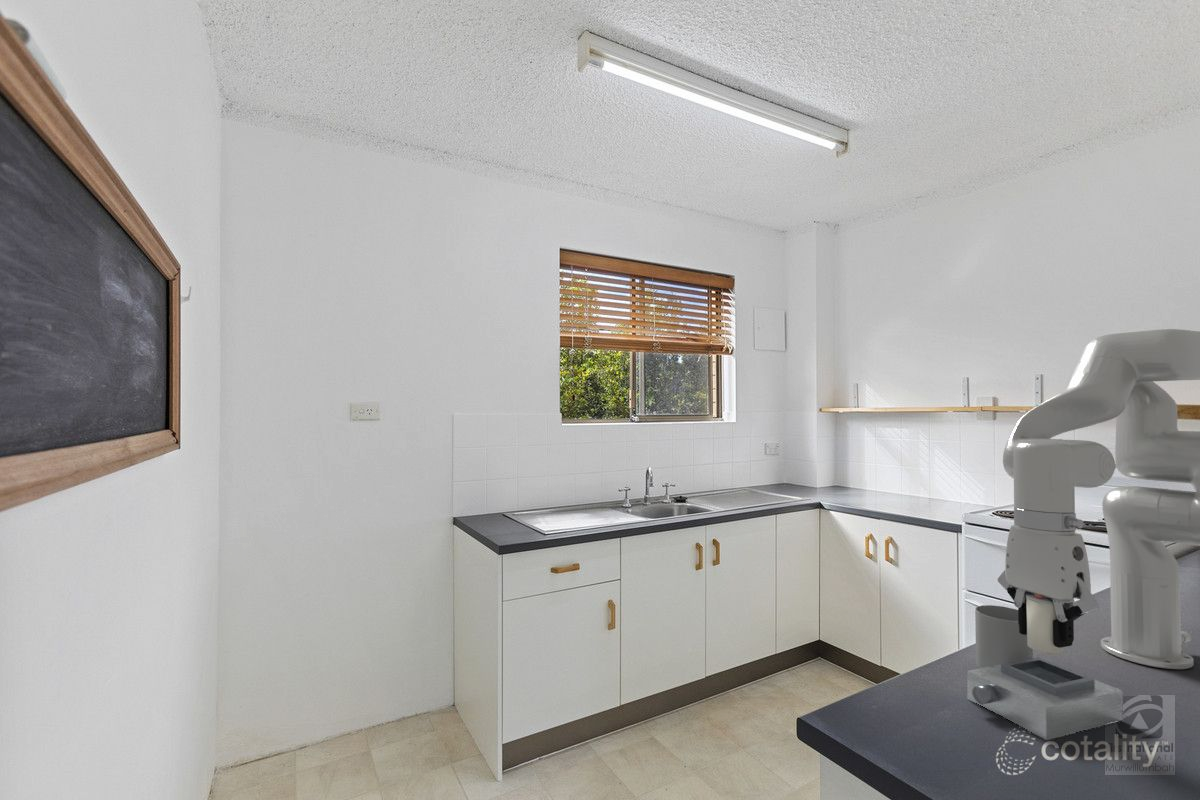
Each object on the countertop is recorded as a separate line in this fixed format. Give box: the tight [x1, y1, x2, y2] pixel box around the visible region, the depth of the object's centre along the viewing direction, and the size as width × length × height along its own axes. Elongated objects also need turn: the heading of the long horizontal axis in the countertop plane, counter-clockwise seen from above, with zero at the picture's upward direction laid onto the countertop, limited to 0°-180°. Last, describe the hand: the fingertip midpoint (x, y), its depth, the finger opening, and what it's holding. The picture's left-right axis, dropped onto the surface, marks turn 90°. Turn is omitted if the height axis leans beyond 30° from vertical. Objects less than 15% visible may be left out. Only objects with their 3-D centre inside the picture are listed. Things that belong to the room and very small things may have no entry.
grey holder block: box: [966, 656, 1124, 741], centre depth 88 cm, size 18×12×6 cm, turn 108°
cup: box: [974, 604, 1034, 669], centre depth 102 cm, size 8×8×10 cm
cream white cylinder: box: [1026, 593, 1064, 655], centre depth 88 cm, size 4×4×9 cm
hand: (1045, 638), depth 88 cm, fingers closed on cream white cylinder, 4 cm apart
